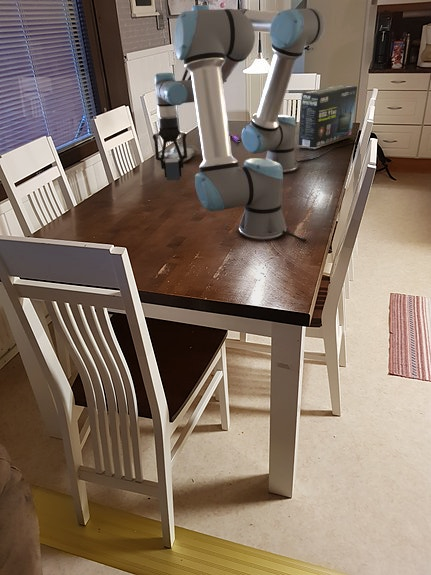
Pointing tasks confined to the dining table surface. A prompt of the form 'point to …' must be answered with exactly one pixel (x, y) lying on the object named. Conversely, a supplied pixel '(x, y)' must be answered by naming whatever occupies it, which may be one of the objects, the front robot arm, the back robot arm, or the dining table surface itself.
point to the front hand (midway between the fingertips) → (173, 175)
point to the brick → (172, 169)
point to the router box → (326, 115)
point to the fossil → (174, 154)
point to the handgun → (235, 138)
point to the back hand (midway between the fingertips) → (204, 100)
